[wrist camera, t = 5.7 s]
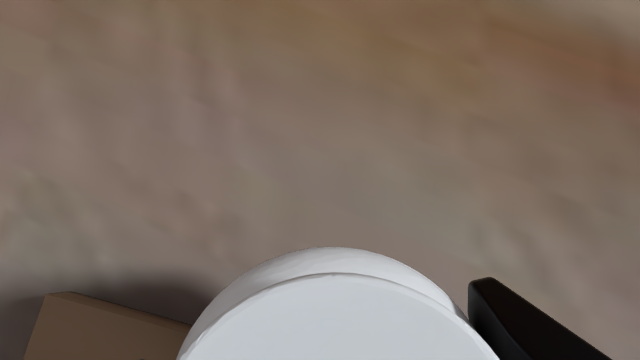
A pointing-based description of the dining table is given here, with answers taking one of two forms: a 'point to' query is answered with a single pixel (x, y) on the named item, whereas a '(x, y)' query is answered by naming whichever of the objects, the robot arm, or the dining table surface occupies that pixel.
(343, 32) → the dining table surface
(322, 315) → the pill bottle
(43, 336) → the wooden board
